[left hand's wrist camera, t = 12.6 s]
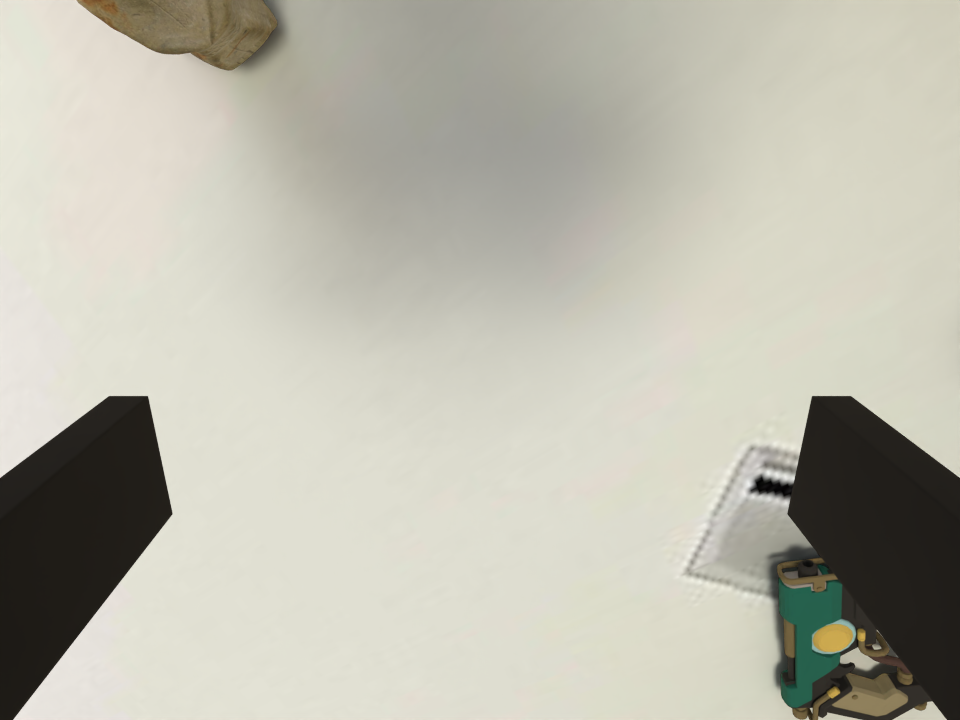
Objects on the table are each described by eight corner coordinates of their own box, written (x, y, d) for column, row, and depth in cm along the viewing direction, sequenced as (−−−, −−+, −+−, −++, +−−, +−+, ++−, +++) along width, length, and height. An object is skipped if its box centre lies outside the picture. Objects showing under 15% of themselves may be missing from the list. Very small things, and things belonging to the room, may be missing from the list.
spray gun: (899, 700, 54) (723, 686, 54) (977, 547, 47) (774, 531, 47) (929, 749, 50) (740, 734, 50) (1019, 591, 43) (798, 573, 43)
